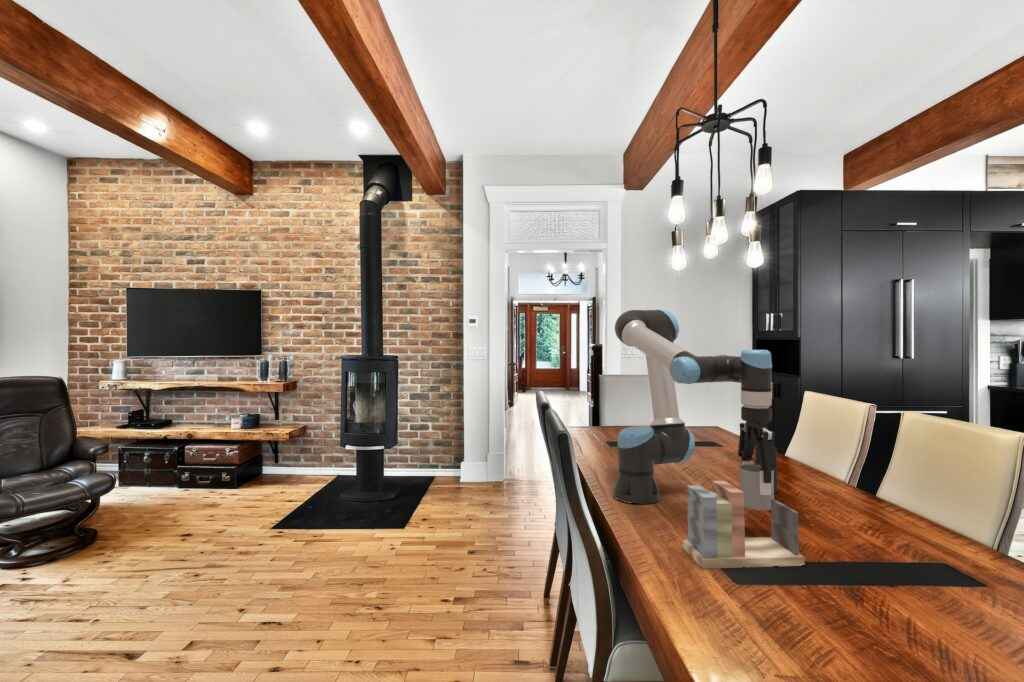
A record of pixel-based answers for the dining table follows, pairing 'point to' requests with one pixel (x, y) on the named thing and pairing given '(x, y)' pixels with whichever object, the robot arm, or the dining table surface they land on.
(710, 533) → the pastel book stand
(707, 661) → the dining table surface
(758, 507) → the cup
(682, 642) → the dining table surface
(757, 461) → the bottle
